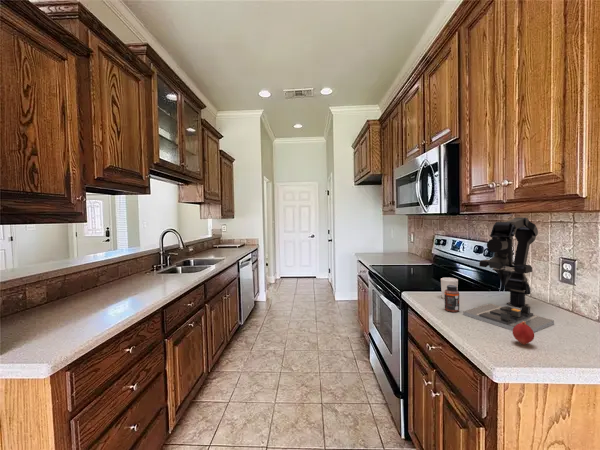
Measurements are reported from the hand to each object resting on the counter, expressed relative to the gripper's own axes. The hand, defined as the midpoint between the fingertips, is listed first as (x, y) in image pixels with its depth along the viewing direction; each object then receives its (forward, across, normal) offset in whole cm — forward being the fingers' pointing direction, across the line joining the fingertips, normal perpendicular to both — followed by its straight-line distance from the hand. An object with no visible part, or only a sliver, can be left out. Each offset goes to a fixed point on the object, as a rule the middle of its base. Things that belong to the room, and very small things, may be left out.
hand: (504, 285), depth 126 cm
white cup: (+12, -25, -2) cm, 28 cm away
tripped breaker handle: (+9, +9, -8) cm, 15 cm away
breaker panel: (+12, +5, -8) cm, 15 cm away
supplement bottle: (+12, -13, -17) cm, 25 cm away
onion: (+12, +20, -27) cm, 36 cm away
